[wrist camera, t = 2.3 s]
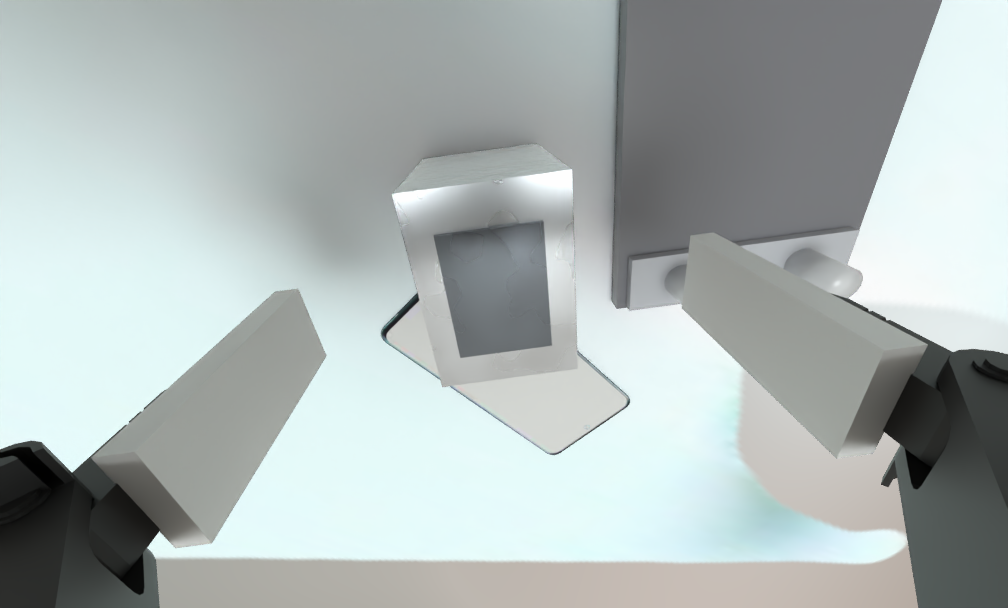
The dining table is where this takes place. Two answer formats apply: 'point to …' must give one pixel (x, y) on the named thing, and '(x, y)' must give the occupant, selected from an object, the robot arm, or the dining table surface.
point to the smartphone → (522, 390)
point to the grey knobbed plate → (754, 132)
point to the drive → (493, 261)
